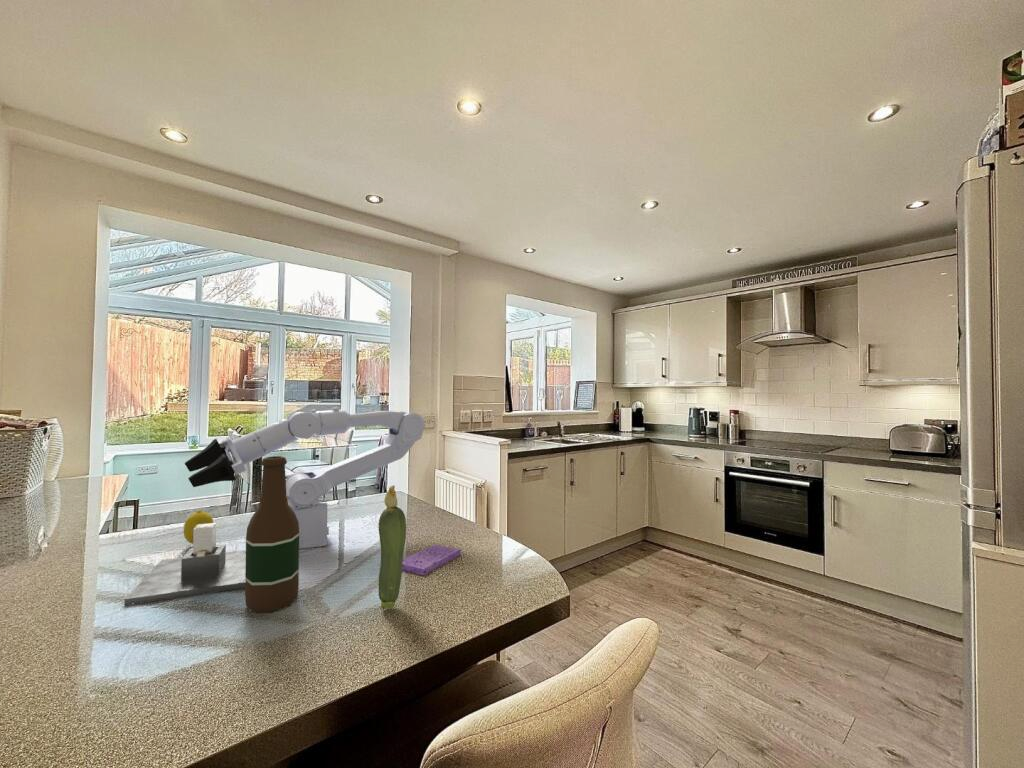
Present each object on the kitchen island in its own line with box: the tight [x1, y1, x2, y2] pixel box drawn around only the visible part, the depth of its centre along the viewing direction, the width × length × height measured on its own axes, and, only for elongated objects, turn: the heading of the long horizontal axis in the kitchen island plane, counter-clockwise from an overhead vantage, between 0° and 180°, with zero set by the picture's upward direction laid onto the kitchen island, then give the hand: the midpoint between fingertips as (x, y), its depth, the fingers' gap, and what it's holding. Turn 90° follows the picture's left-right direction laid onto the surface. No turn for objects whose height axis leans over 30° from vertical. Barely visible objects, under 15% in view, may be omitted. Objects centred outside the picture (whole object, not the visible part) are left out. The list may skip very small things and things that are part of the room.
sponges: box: [402, 543, 462, 576], centre depth 92 cm, size 7×13×2 cm, turn 152°
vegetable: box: [378, 485, 407, 611], centre depth 72 cm, size 4×4×20 cm
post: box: [192, 522, 217, 556], centre depth 84 cm, size 3×3×8 cm
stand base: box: [124, 544, 246, 606], centre depth 84 cm, size 18×18×5 cm
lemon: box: [183, 509, 215, 545], centre depth 99 cm, size 6×6×8 cm
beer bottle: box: [244, 455, 300, 614], centre depth 73 cm, size 8×8×24 cm
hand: (188, 474), depth 90 cm, fingers open, 7 cm apart
